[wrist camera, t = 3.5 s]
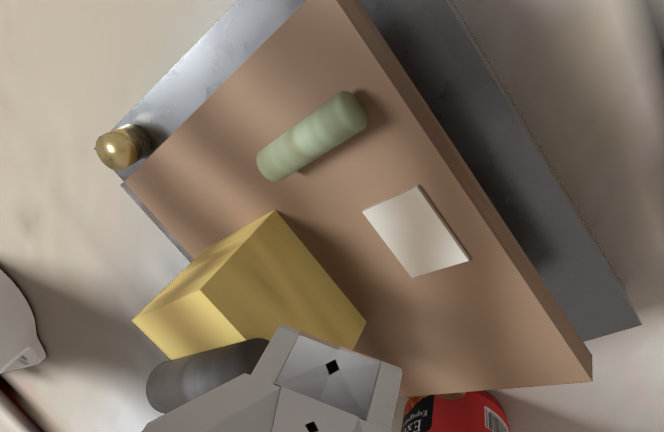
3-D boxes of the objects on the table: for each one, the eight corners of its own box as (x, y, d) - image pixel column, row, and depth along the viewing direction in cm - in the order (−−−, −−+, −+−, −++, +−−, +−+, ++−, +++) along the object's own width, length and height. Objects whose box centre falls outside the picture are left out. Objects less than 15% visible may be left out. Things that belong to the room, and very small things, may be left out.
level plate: (323, 386, 33) (254, 521, 26) (135, 176, 28) (-11, 273, 21) (592, 354, 21) (595, 591, 14) (342, -25, 16) (157, 48, 9)
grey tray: (343, 383, 37) (327, 436, 33) (124, 133, 31) (69, 159, 27) (625, 290, 27) (654, 351, 22) (379, -120, 20) (355, -143, 16)
